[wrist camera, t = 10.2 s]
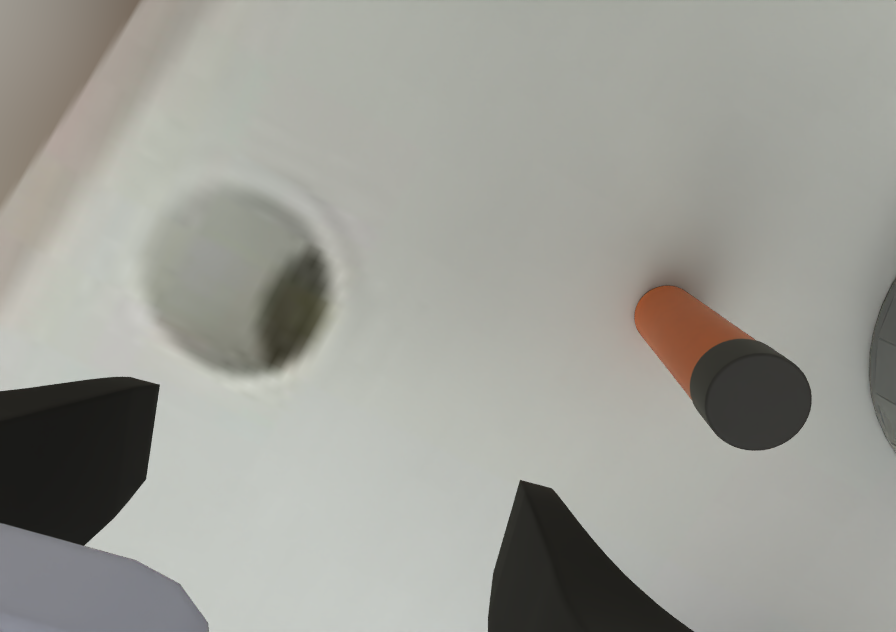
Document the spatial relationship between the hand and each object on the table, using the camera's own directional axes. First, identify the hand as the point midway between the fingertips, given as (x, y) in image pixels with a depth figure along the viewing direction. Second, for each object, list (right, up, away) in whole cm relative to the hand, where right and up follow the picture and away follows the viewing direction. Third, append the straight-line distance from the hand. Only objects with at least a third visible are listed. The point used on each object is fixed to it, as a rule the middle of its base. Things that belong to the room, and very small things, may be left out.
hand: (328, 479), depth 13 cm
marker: (+9, +3, +9) cm, 13 cm away
